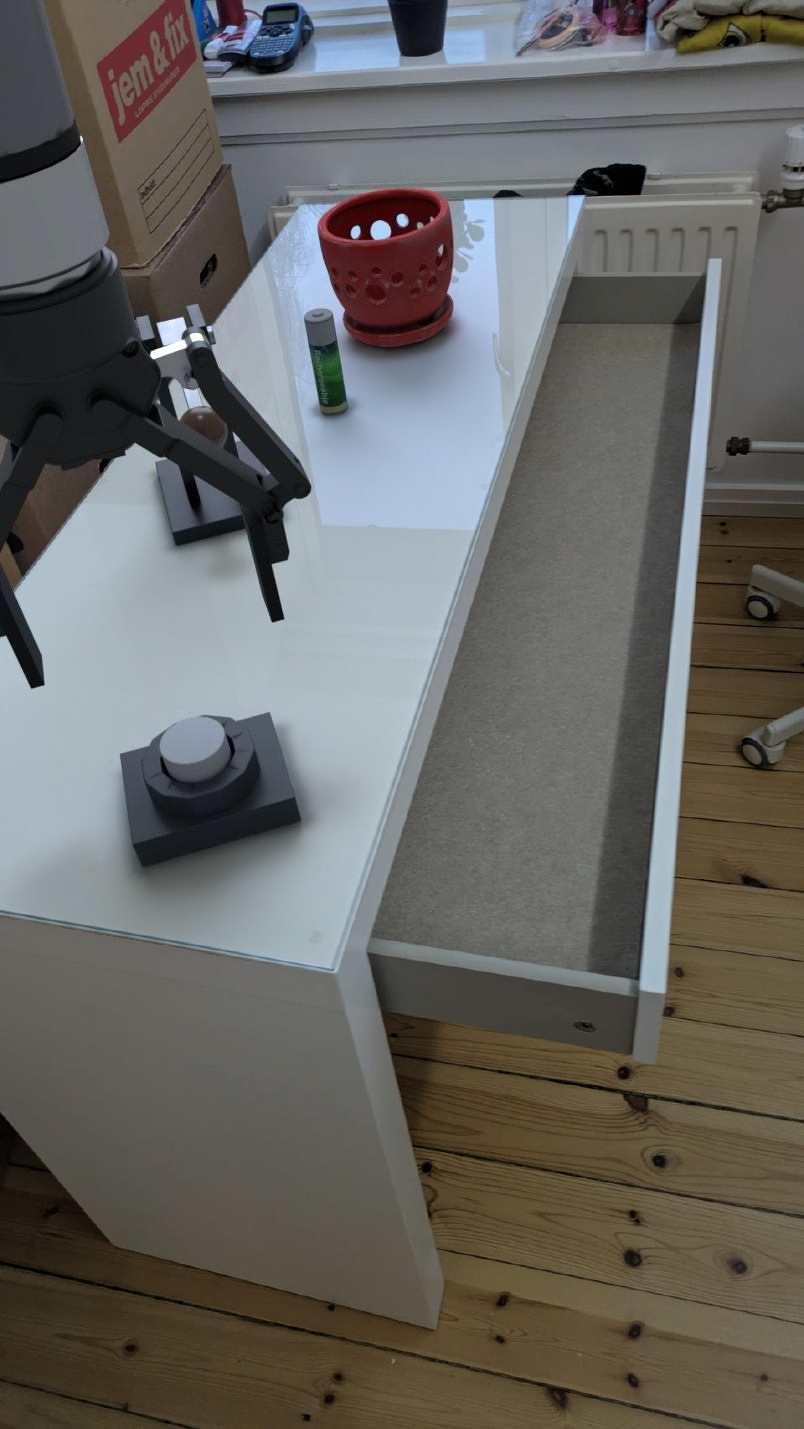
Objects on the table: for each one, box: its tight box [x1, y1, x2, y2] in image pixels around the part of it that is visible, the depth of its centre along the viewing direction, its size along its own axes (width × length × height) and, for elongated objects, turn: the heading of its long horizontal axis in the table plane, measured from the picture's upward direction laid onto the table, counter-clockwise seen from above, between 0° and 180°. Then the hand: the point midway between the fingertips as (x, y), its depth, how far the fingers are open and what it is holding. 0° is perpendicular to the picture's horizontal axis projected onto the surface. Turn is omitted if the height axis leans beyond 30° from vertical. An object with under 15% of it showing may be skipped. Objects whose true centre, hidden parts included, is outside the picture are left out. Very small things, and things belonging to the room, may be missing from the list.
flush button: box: [160, 716, 231, 783], centre depth 67 cm, size 4×4×2 cm
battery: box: [303, 307, 349, 416], centre depth 101 cm, size 3×3×10 cm
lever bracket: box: [135, 303, 267, 546], centre depth 90 cm, size 12×9×16 cm
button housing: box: [119, 711, 302, 868], centre depth 68 cm, size 10×8×4 cm
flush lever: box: [156, 316, 228, 448], centre depth 83 cm, size 13×4×4 cm, turn 16°
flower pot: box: [316, 187, 455, 348], centre depth 110 cm, size 13×13×12 cm
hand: (157, 639), depth 62 cm, fingers open, 13 cm apart
